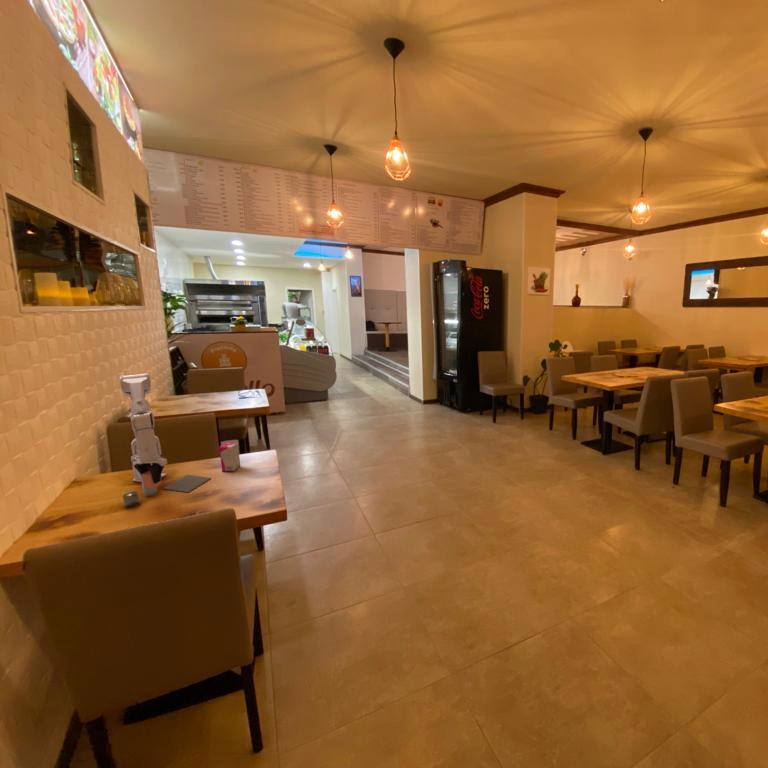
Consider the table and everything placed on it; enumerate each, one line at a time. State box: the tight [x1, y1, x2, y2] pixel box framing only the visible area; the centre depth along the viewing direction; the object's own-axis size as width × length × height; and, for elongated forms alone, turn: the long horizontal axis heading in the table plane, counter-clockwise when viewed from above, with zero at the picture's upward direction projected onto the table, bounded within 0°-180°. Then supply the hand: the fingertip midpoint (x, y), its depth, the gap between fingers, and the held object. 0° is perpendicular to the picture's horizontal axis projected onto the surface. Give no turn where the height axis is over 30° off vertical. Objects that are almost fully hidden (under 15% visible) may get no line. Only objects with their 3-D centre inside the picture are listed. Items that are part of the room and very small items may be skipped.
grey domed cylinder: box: [141, 482, 158, 497], centre depth 139 cm, size 4×4×5 cm
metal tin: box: [122, 490, 140, 508], centre depth 131 cm, size 4×4×4 cm
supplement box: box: [219, 442, 241, 473], centre depth 158 cm, size 6×6×12 cm
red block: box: [142, 471, 163, 488], centre depth 132 cm, size 4×4×5 cm
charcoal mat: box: [163, 474, 212, 494], centre depth 146 cm, size 12×12×1 cm
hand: (152, 481), depth 132 cm, fingers closed on red block, 4 cm apart
